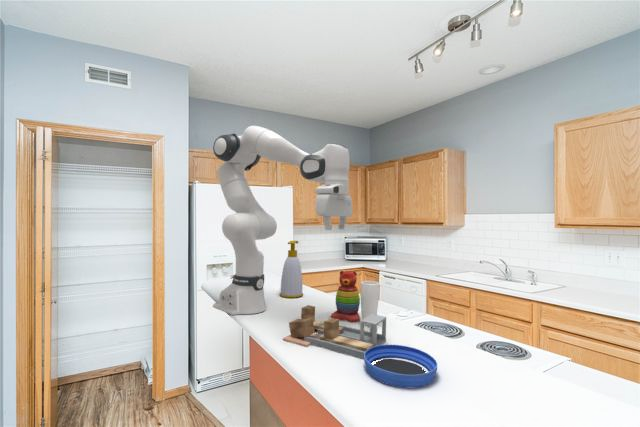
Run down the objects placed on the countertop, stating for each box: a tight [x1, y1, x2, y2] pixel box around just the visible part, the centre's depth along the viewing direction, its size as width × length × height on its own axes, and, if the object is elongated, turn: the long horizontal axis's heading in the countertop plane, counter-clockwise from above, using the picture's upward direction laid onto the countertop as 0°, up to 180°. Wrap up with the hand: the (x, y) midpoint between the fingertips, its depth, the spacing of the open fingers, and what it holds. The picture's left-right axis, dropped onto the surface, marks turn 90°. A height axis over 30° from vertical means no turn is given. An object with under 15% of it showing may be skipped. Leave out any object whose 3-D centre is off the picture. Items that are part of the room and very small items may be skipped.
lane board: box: [304, 314, 387, 360], centre depth 102 cm, size 20×16×8 cm
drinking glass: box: [359, 280, 380, 327], centre depth 120 cm, size 7×7×15 cm
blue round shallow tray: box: [363, 344, 438, 388], centre depth 84 cm, size 18×18×4 cm
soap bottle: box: [279, 240, 304, 299], centre depth 159 cm, size 11×12×26 cm
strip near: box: [319, 317, 374, 352], centre depth 98 cm, size 16×4×6 cm, turn 58°
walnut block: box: [288, 318, 316, 337], centre depth 104 cm, size 6×4×4 cm
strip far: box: [300, 304, 344, 334], centre depth 111 cm, size 16×4×6 cm, turn 58°
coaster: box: [282, 333, 320, 348], centre depth 103 cm, size 9×9×1 cm
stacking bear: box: [330, 270, 361, 323], centre depth 127 cm, size 11×10×18 cm
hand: (335, 229), depth 115 cm, fingers open, 8 cm apart
